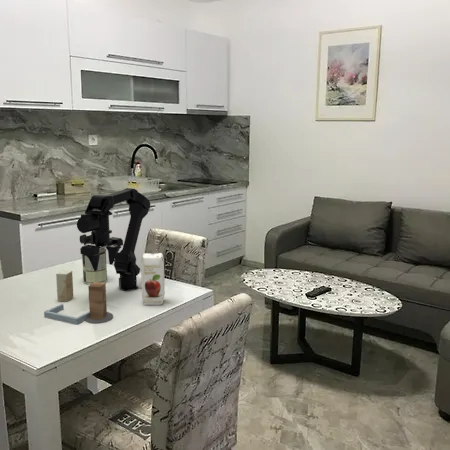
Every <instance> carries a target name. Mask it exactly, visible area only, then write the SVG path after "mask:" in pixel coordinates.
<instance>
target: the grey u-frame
mask: <svg viewBox="0 0 450 450" xmlns="http://www.w3.org/2000/svg"><path fill="white" fill-rule="evenodd" d="M64 309H65V308H64V303H60V304H58V305H55V306H53V307H50V309H47V310H44V311H43V317H44V318H47V319H51V320H56V321H60V322H64V323H69V324H73V325H79V324H81V323H83V322H86V321H85V319H87V318H89V317H90V310H89V311H87V312H85V313H83V314H81V315H79V316H77V317H75V316H70V315H67V314H62V313H60V312H61V311H64Z"/></svg>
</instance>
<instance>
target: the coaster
mask: <svg viewBox="0 0 450 450" xmlns="http://www.w3.org/2000/svg"><path fill="white" fill-rule="evenodd" d="M113 318H114V314H113V313H112V312H109V311H107V315H106V316H105V317H104V318H103V319H102V320H101V319H90V317H89V318H87V319H85V321H84V322H85V323H88V324H103V323H106V322H109V321H112V319H113Z"/></svg>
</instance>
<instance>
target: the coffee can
mask: <svg viewBox="0 0 450 450" xmlns="http://www.w3.org/2000/svg"><path fill="white" fill-rule="evenodd" d="M98 254H100V257H99V263H98V268H97V271H94V269H93V267H92V264H91V262H90V260H89V258H88V257H87V256H84V255H83V254H81V258H82V259H81V261H82V276H83V277H82V279H83V283H84V284H86V285H88V286H89V285H91V284H92V283H93V282H99V283H106V282H108V270H107V267H108V266H107V249H106V247H105V248H102V249H99V253H98Z"/></svg>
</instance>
